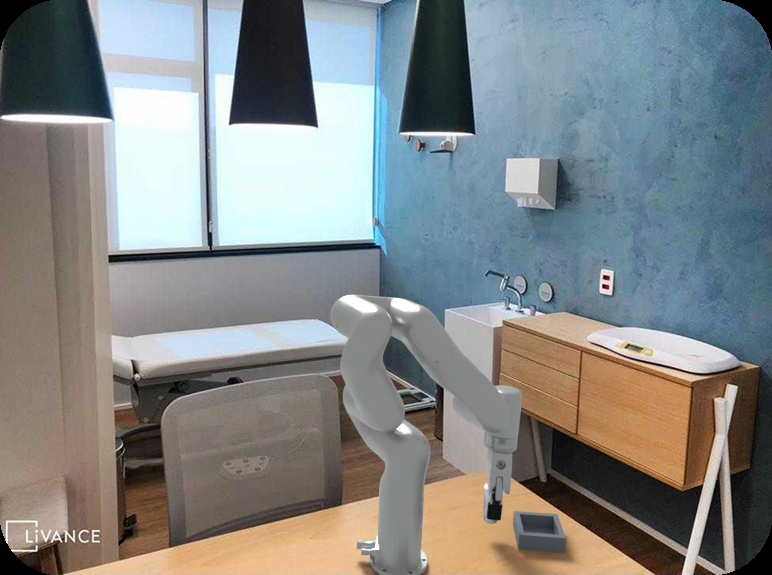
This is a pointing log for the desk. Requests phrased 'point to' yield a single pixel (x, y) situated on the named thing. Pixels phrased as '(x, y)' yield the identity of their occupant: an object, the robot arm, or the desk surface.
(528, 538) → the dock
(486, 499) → the milkshake
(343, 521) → the desk surface
